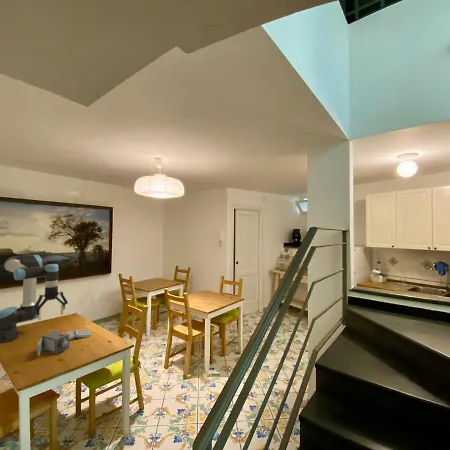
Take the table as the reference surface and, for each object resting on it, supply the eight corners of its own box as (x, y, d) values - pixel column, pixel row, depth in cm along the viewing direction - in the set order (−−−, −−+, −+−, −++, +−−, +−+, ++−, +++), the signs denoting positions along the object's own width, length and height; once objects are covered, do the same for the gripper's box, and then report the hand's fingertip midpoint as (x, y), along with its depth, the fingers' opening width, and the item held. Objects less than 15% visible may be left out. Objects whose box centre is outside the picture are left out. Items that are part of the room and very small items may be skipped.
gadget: (57, 344, 186) (58, 339, 186) (57, 337, 198) (57, 333, 198) (92, 336, 199) (92, 332, 199) (89, 330, 211) (89, 326, 212)
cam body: (41, 349, 176) (41, 334, 176) (54, 344, 184) (55, 329, 185) (58, 355, 168) (58, 338, 169) (71, 349, 177) (71, 333, 177)
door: (40, 348, 175) (40, 337, 175) (42, 347, 176) (43, 337, 176) (36, 356, 163) (36, 345, 164) (39, 356, 164) (39, 344, 164)
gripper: (31, 290, 163) (30, 323, 162) (73, 284, 182) (72, 313, 181) (28, 288, 167) (27, 320, 167) (69, 282, 187) (68, 311, 186)
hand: (50, 316), depth 174 cm, fingers open, 13 cm apart
